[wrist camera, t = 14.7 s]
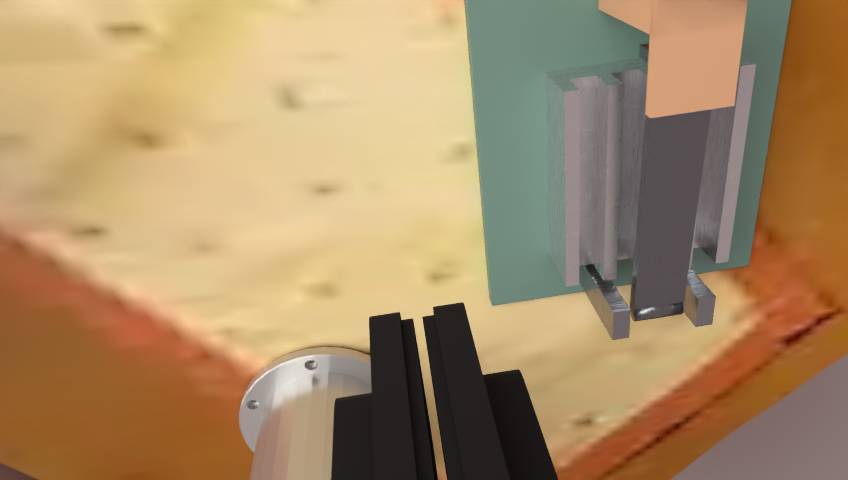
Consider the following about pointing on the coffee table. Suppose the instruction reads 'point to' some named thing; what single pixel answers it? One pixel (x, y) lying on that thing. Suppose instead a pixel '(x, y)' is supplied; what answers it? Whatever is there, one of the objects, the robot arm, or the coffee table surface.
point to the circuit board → (525, 126)
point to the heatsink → (628, 181)
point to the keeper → (687, 51)
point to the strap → (667, 210)
